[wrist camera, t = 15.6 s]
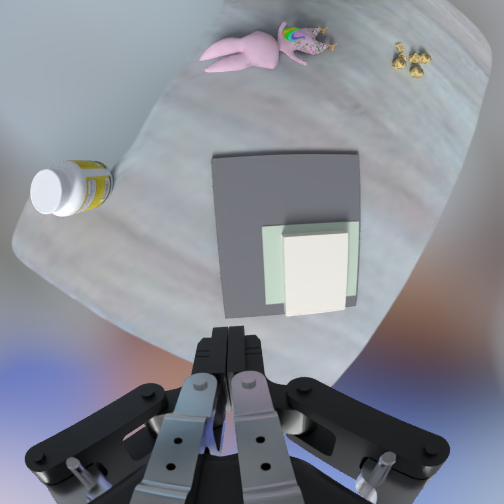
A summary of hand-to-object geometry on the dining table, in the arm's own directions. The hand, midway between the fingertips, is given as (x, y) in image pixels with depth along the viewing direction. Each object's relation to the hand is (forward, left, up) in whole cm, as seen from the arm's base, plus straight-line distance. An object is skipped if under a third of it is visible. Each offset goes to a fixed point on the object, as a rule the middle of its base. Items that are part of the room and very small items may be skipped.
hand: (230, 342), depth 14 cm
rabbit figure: (-22, +5, -19) cm, 29 cm away
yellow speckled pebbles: (-23, +24, -19) cm, 38 cm away
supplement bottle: (-9, -16, -19) cm, 26 cm away
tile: (-1, +9, -17) cm, 19 cm away
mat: (-1, +6, -19) cm, 20 cm away
